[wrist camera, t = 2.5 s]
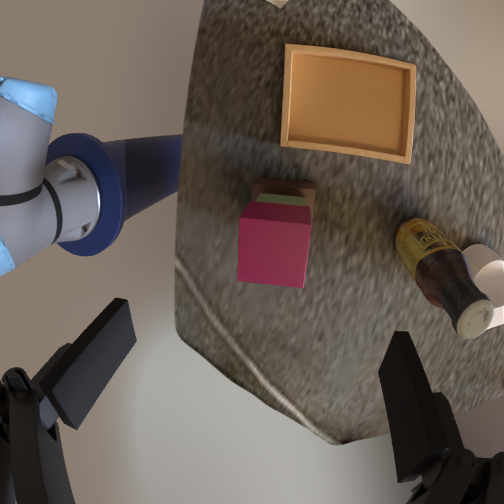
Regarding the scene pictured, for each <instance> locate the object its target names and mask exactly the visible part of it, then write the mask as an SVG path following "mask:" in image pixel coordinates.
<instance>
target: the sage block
mask: <svg viewBox="0 0 504 504" xmlns="http://www.w3.org/2000/svg"><path fill="white" fill-rule="evenodd" d="M256 202H267V203H278V204H289V205H299V206H306V197H297V196H287V195H276V194H264V193H260V195H259V196H258V198H257V199H256Z"/></svg>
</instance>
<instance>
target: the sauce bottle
mask: <svg viewBox="0 0 504 504" xmlns="http://www.w3.org/2000/svg"><path fill="white" fill-rule="evenodd" d="M395 244H396V249H397V251H398V253H399V255H400V257H401V258H402V260H403V262H404V263H405V265H406V267H407V268H408V270H409V272H410V273H411V275H412V277H413V278H414V280H415V282H416V284H417V285H418V287H419V288H420V289H421V291H422V292H423V294H424V296H425V297H426V299H427V300H428V301H429V302H430V303H431V304H433V305H434V306H437V307H439V308H442V309H445V311H447V313H448V314H449V316H450V318H451V319H452V325H453V328H454V329H455V331H456V332H457V334H458V336H460V337H461V338H463V339H472V338H475V337H477V336H479V335H480V334H481V333H483V332H484V331H485V330H486V329H487V328H488V327H489V325H490V323H491V322H492V319H493V316H494V307H493V303H492V302H491V300H490V299H489V297H488V296H487V295H486V294H485V293H483V292H481V291H480V290H479V288H478V287H477V286H476V285H475V282H474V280H473V277H472V274H471V270H470V267H469V264H468V261H467V258H466V256H465V254H464V253H463V252H462V251H461V250H460V249H459V248H458V247H457V246H456V245H455V244H453V243H452V241H451V240H449V239H448V238H447V237H446V236H445V235H444V234H443V233H442V232H440V231H439V230H438V229H437V228H436V227H435V226H434V225H433V224H431V223H430V222H429V221H427V220H425V219H423V218H420V217H414V218H410V219H407V220H405V221H404V222H403V223H402V224H401V225H400V227H399V228H398V229H397V231H396V234H395Z"/></svg>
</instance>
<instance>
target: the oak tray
mask: <svg viewBox="0 0 504 504" xmlns="http://www.w3.org/2000/svg"><path fill="white" fill-rule="evenodd" d="M415 96H416V65H413V64H409V63H406V62H402V61H398V60H394V59H390V58H385V57H381V56H376V55H371V54H366V53H361V52H355V51H349V50H342V49H335V48H328V47H319V46H309V45H296V44H293V45H292V44H285V65H284V86H283V105H282V123H281V140H280V146H281V147H293V148H304V149H313V150H322V151H331V152H338V153H346V154H353V155H360V156H366V157H372V158H378V159H384V160H390V161H395V162H400V163H405V164H410V160H411V152H412V142H413V130H414V117H415Z"/></svg>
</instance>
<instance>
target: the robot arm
mask: <svg viewBox="0 0 504 504" xmlns="http://www.w3.org/2000/svg"><path fill="white" fill-rule="evenodd" d="M56 104H57V93H56V91H55V89H54V88H53V87H51V86H48V85H44V84H40V83H36V82H31V81H27V80H21V79H16V78H11V77H5V76H0V276H2V275H3V274H5V273H7V272H9V271H13V270H14V269H15V268H16V267H18V266H19V265H21V264H22V263H24V262H25V261H27V260H28V259H30V258H31V257H33V256H34V255H36V254H37V253H39V252H40V251H42V250H44V249H45V248H47V247H48V246H50V245H51V244H53V243H56V242H66V241H75V240H79V239H82V238H84V237H86V236H87V235H89V234H91V233H92V232H93V231H94V230H95V229H96V227H97V226H98V224H99V222H100V219H101V215H102V209H103V196H102V190H101V186H100V183H99V180H98V178H97V176H96V174H95V172H94V170H93V169H92V167H91V166H90V165H89V164H88V163H87V162H86V161H85V160H83V159H82V158H80V157H77V156H73V155H68V156H63V157H59V158H57V159H55V160H53V161H52V162H50V163H49V164H48V165H46V166H45V163H46V156H47V151H48V145H49V140H50V135H51V130H52V125H53V124H54V113H55V109H56ZM136 341H137V340H136V336H135V332H134V327H133V323H132V319H131V314H130V309H129V304H128V300H126V299H121V298H115V299H114V300H113V301H112V302H111V303H110V304H109V305H108V306H107V307H106V308H105V309H104V310H103V311H102V312H101V313H100V314H99V315H98V317H96V319H95V320H94V321H93V322H92V323H91V324H90V325H89V326H88V327H87V328H86V329H85V330H84V331H83V333H82V334H81V335H80V336H79V337H78V338H77V339H76V340H75V341H74V342H73V344H70V343H67V344H65V345H64V346H62V347H60V348H59V349H58V350H57V351H56V352H55V354H54V355H53V356H52V357H51V358H50V359H49V361H48V362H46V364H45V365H44V366H43V367H42V368H41V369H40V371H39V372H38V373H37V374H36V375H35V376H34V377H33V378H32V380H31V381H30V379H29V377H28V376H27V374H26V372H25V371H24V370H23V369H22V368H19V367H14V368H11V369H9V370H8V371H6V372H5V374H4V375H3V377H2V382H3V383H4V384H3V383H2V382H1V380H0V504H15V500H16V501H17V504H75V501H74V497H73V494H72V490H71V486H70V482H69V478H68V475H67V470H66V465H65V461H64V456H63V451H62V446H61V440H60V433H59V426H58V423H57V421H56V420H57V418H58V417H60V418H61V420H62V421H63V423H64V424H66V425H68V426H70V427H72V428H74V429H76V430H77V429H78V428H79V426H80V425H81V423H82V422H83V420H84V418H85V417H86V415H87V414H88V412H89V411H90V409H91V407H92V406H93V405H94V403H95V402H96V400H97V399H98V397H99V395H100V394H101V392H102V391H103V389H104V388H105V386H106V385H107V383H108V382H109V380H110V379H111V378H112V376H113V374H114V373H115V372H116V370H117V369H118V367H119V366H120V364H121V363H122V361H123V360H124V359H125V357H126V355H127V354H128V353H129V351H130V350H131V348H132V347H133V346H134V344H135V343H136ZM378 374H379V378H380V383H381V387H382V392H383V396H384V401H385V406H386V411H387V416H388V422H389V427H390V433H391V438H392V445H393V451H394V458H395V464H396V473H397V481H398V483H402V482H409V481H414V480H416V478H418V477H419V476H420V475H422V482H420V483H419V484H418V485H417V486H416V487H414V488H413V489H412V490H411V492H414V491H415V492H414V493H413V495H412V496H411V497H410V499H409V500H408V502H407V503H406V504H504V452H499V453H497V454H496V455H495V456H494V457H493V458H478V457H475V455H474V453H472V452H471V451H470V450H468V449H465V448H464V446H463V443H462V439H461V436H460V433H459V430H458V427H457V424H456V421H455V419H454V415H453V412H451V410H452V409H451V407H450V404H449V401H448V400H447V398H446V397H445V396H444V395H443V394H442V392H437V393H432V390H431V388H430V385H429V382H428V379H427V377H426V374H425V371H424V369H423V366H422V364H421V361H420V358H419V356H418V354H417V351H416V349H415V346H414V344H413V341H412V339H411V337H410V334H409V332H405V331H394V334H393V336H392V339H391V342H390V344H389V347H388V349H387V352H386V354H385V357H384V359H383V361H382V364H381V366H380V368H379V371H378Z"/></svg>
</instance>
